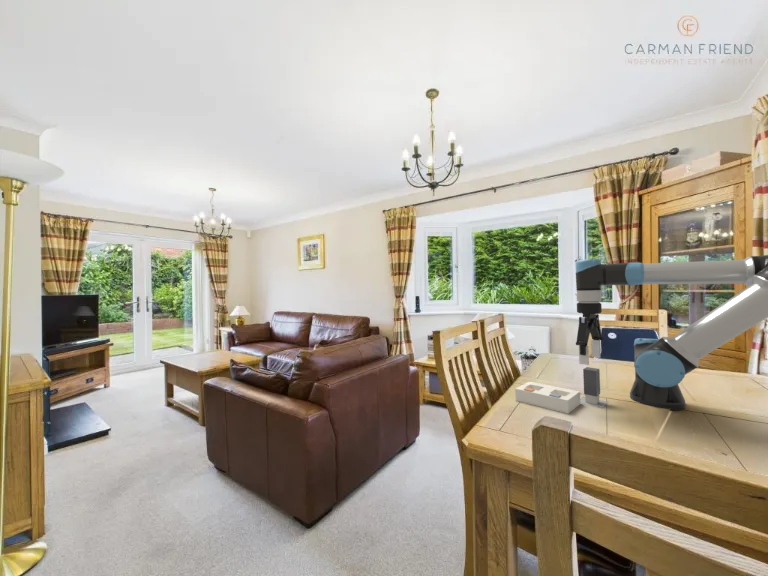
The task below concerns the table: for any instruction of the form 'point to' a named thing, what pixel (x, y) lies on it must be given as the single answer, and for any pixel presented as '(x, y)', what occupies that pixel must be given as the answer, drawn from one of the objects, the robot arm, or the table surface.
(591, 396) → the grey tall block
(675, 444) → the table surface
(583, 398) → the mat
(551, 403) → the socket block
